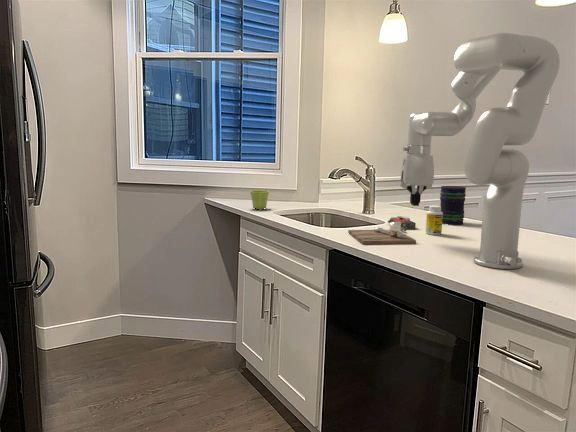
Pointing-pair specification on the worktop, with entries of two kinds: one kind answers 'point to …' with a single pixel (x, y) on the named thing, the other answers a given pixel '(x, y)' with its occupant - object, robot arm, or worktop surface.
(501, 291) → the worktop surface
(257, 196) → the plant pot
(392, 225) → the lever
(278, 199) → the worktop surface
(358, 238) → the dial board
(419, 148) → the robot arm
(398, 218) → the walkie-talkie
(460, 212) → the storage jar
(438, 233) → the supplement bottle
